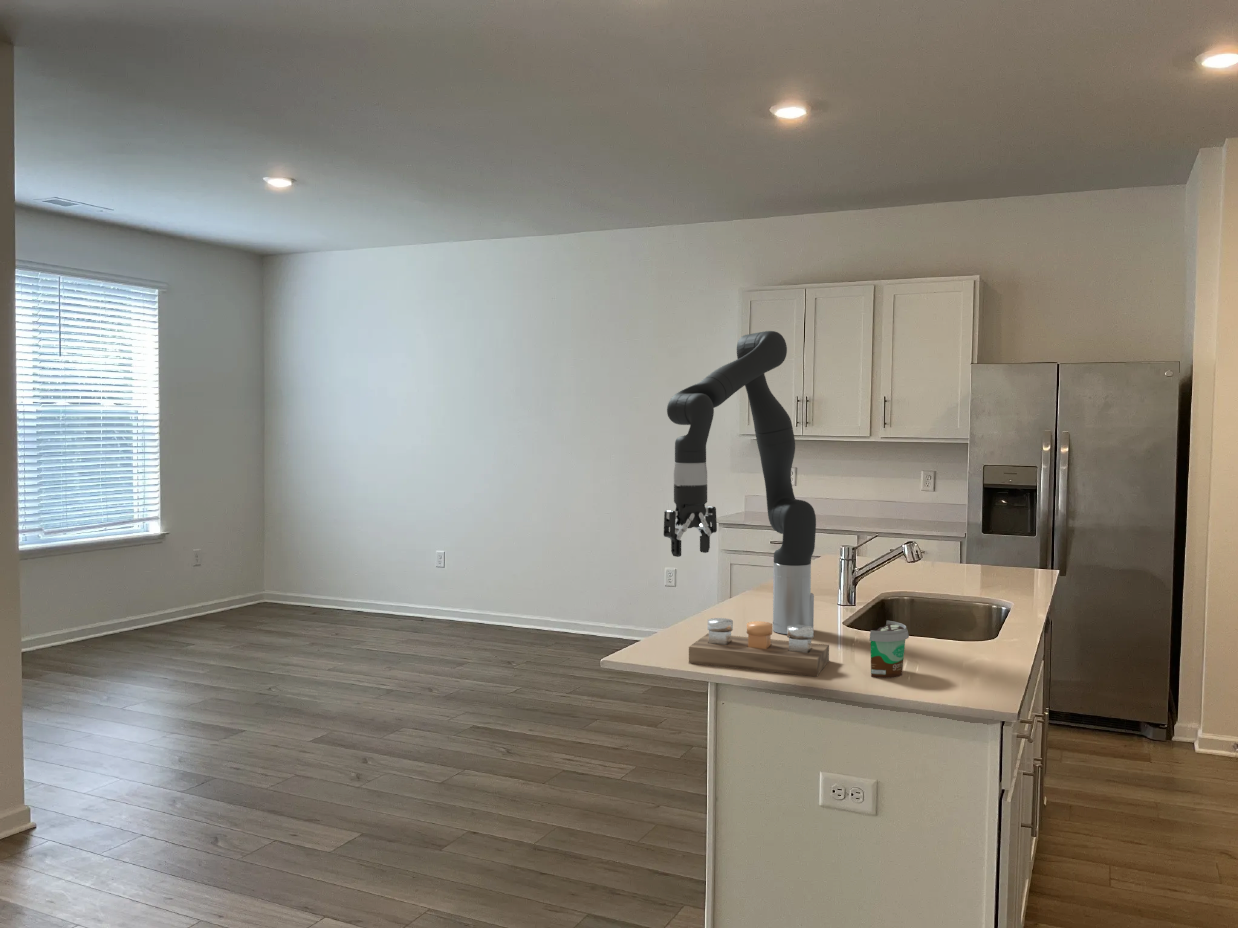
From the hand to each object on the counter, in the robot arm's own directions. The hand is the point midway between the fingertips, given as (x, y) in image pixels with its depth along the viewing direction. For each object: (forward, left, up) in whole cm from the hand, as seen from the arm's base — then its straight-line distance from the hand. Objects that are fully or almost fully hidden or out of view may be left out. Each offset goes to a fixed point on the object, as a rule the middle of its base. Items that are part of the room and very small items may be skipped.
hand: (690, 554), depth 220 cm
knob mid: (-11, +11, -20) cm, 26 cm away
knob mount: (-11, +11, -23) cm, 28 cm away
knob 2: (-18, +18, -20) cm, 32 cm away
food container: (-32, +30, -23) cm, 50 cm away
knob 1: (-5, +5, -20) cm, 22 cm away
